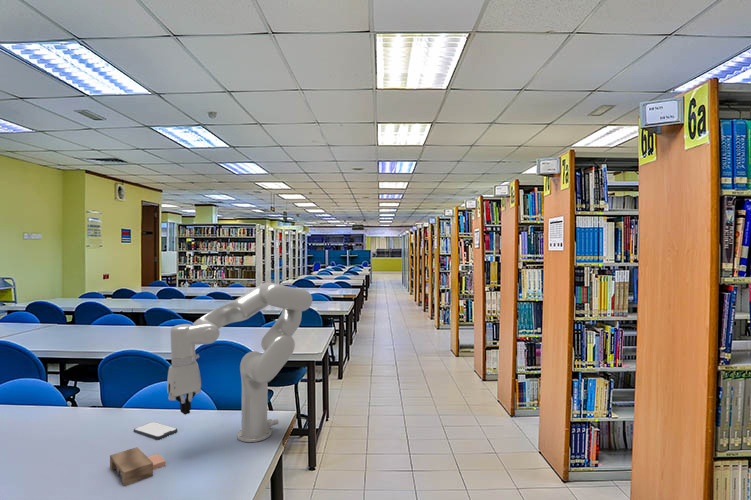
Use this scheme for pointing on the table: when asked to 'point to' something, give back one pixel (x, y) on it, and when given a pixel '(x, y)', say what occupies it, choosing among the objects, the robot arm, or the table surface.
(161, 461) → the salmon pink flat block
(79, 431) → the table surface
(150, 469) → the wooden channel block
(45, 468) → the table surface
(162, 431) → the smartphone
